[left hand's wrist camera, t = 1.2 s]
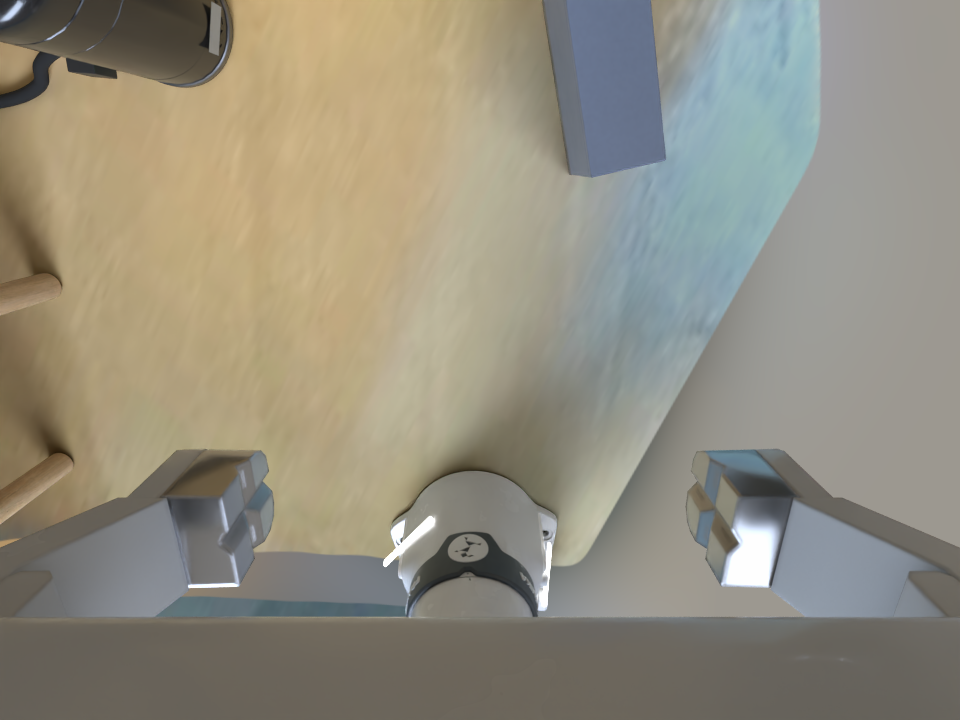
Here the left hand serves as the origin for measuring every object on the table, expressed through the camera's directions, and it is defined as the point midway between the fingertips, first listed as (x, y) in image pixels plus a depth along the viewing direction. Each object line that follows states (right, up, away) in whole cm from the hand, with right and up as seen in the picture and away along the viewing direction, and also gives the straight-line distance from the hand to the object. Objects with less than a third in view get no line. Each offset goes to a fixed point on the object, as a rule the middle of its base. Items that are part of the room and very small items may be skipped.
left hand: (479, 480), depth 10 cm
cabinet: (+9, +27, +34) cm, 45 cm away
